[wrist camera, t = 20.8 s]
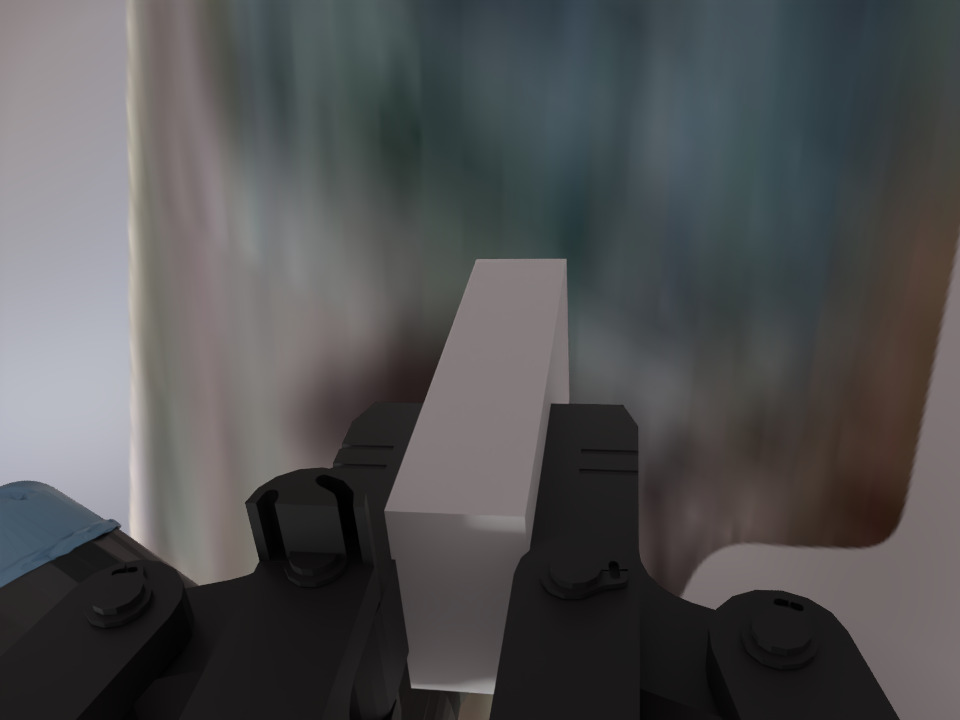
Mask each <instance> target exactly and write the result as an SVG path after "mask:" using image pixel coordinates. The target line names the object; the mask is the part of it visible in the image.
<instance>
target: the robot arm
mask: <svg viewBox="0 0 960 720" xmlns="http://www.w3.org/2000/svg"><path fill="white" fill-rule="evenodd" d="M245 504H246V508H247V512H248V516H249V520H250V524H251V528H252V532H253V536H254V540H255V544H256V549H257V553H258V557H259V563H258V565H257V567H256V569H255V571H254V573H252V574H249V575H246V576H243V577H239V578H235V579H232V580H227V581H222V582H217V583H211V584H206V585H201V586H199V585H198V584H196V583H195V582H193V581H192V580H190V579H189V578H188V577H186V576H185V575H183V574H182V573H181V572H179V571H178V570H176V569H175V568H173V567H172V566H171V565H169V564H168V563H166V562H165V561H163V560H162V559H161V558H159V557H158V556H156V555H155V554H154V553H152V552H151V551H149V550H148V549H146V548H145V547H144V546H142V545H141V544H139V543H138V542H137V541H135V540H134V539H132V538H131V537H129V536H128V535H127V534H125V533H124V532H122V531H121V530H119V529H120V527H121V525H120V524H119V523H118V522H117V521H115V520H113V519H109V520H105V519H103V518H101V517H100V516H98V515H97V514H95V513H93V512H92V511H90V510H89V509H87V508H85V507H84V506H82V505H81V504H79V503H77V502H76V501H74V500H73V499H71V498H70V497H68V496H66V495H65V494H63V493H62V492H60V491H58V490H57V489H55V488H54V487H51V486H49V485H47V484H44V483H41V482H36V481H18V482H13V483H9V484H6V485H3V486H0V720H458V716H459V711H460V707H461V704H462V703H463V701H464V700H465V698H466V697H467V695H468V694H469V692H472V693H485V694H494V695H493V701H492V707H491V713H490V719H489V720H900V719H899V718H898V716H897V714H896V712H895V711H894V709H893V707H892V706H891V704H890V702H889V701H888V699H887V697H886V696H885V694H884V692H883V691H882V689H881V687H880V685H879V684H878V682H877V680H876V678H875V677H874V675H873V673H872V672H871V670H870V668H869V667H868V665H867V663H866V661H865V660H864V659H863V656H862V655H861V653H860V652H859V650H858V648H857V646H856V644H855V643H854V641H853V639H852V638H851V636H850V634H849V633H848V631H847V630H846V629H845V628H844V626H843V625H842V624H841V623H840V622H839V621H838V620H837V618H836V617H835V616H834V615H833V614H832V613H831V612H830V611H828V610H827V609H825V608H823V607H822V606H820V605H818V604H816V603H815V602H813V601H812V600H810V599H808V598H805V597H802V596H798V595H795V594H791V593H788V592H784V591H776V590H775V591H773V590H754V591H750V592H746V593H743V594H740V595H736V596H732V597H731V598H730V599H729V600H727V601H726V602H725V603H723V604H722V605H721V606H720V607H718V608H717V609H716V610H714V609H710V608H707V607H704V606H701V605H697V604H694V603H691V602H689V601H686V600H684V599H682V598H679V597H677V596H674V595H673V594H671V593H670V592H668V591H667V590H665V589H664V588H662V587H660V586H659V585H658V584H657V583H656V582H655V581H654V580H653V579H652V578H651V577H650V576H649V575H648V573H647V572H646V570H645V568H644V566H643V564H642V563H641V559H640V554H639V538H638V426H637V424H636V423H635V421H634V420H633V419H632V417H631V416H630V414H629V413H628V412H627V410H626V409H625V407H624V406H623V405H601V404H569V355H568V311H567V267H566V259H477V260H476V262H475V265H474V268H473V270H472V273H471V276H470V279H469V281H468V284H467V287H466V290H465V292H464V295H463V298H462V300H461V303H460V306H459V309H458V311H457V314H456V317H455V319H454V322H453V325H452V328H451V330H450V333H449V336H448V339H447V341H446V344H445V347H444V349H443V352H442V355H441V358H440V360H439V363H438V366H437V368H436V371H435V374H434V377H433V379H432V382H431V385H430V387H429V390H428V393H427V396H426V398H425V401H424V403H401V402H376V403H374V404H373V405H372V406H371V407H370V408H368V409H367V410H366V411H365V412H364V413H362V414H361V415H360V416H359V417H358V418H356V419H355V420H354V421H353V422H352V424H351V426H350V429H349V431H348V433H347V435H346V437H345V439H344V441H343V443H342V449H340V450H339V452H338V454H337V456H336V458H335V460H334V462H333V468H331V469H328V468H311V469H299V470H296V471H293V472H290V473H287V474H284V475H280V476H277V477H275V478H274V479H272V480H270V481H269V482H267V483H265V484H264V485H262V486H261V487H259V488H258V489H257V490H256V491H255V492H254V493H253V494H252V495H251V496H250V498H249V499H248V500H247V501H246V502H245Z"/></svg>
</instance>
